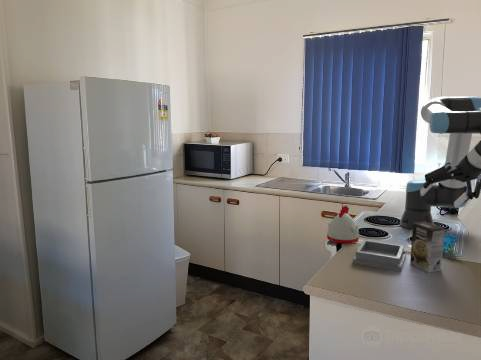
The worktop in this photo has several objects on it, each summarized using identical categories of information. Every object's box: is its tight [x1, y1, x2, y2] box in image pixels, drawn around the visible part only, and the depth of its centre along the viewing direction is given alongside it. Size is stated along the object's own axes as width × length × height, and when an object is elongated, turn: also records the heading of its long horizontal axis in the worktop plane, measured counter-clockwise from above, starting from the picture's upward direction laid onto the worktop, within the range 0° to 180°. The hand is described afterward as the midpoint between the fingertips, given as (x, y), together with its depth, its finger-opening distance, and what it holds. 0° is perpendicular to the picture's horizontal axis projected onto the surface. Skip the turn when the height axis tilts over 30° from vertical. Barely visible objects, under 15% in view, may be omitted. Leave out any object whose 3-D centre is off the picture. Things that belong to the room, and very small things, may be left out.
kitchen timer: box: [326, 205, 360, 245], centre depth 174 cm, size 14×14×15 cm
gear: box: [443, 233, 458, 258], centre depth 156 cm, size 11×6×10 cm
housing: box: [352, 239, 407, 272], centre depth 150 cm, size 17×17×4 cm
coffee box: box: [409, 221, 446, 274], centre depth 142 cm, size 9×6×16 cm
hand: (438, 199), depth 146 cm, fingers open, 13 cm apart
